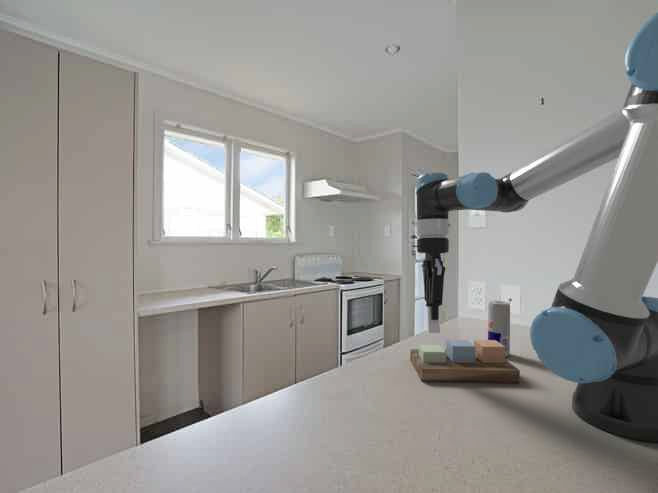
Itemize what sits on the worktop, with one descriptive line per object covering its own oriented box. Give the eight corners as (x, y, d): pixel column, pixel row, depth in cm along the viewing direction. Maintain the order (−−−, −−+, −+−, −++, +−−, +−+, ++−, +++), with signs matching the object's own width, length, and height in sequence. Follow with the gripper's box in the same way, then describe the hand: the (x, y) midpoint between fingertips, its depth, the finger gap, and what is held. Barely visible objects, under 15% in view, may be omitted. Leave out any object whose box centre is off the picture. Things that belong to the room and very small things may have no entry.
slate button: (475, 362, 83) (475, 346, 83) (452, 362, 84) (452, 346, 83) (467, 355, 89) (467, 339, 89) (446, 355, 89) (446, 339, 89)
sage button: (445, 368, 84) (445, 352, 84) (423, 368, 84) (423, 351, 84) (439, 360, 89) (439, 345, 89) (418, 360, 89) (418, 344, 89)
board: (519, 383, 79) (519, 370, 79) (421, 381, 80) (421, 368, 80) (493, 361, 93) (493, 350, 93) (410, 360, 94) (410, 349, 94)
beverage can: (504, 351, 101) (505, 300, 101) (513, 357, 95) (513, 303, 95) (484, 350, 101) (485, 299, 101) (491, 357, 96) (492, 303, 96)
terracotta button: (505, 363, 83) (505, 346, 83) (482, 363, 83) (482, 346, 83) (495, 355, 88) (495, 340, 88) (473, 355, 89) (474, 339, 88)
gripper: (456, 236, 79) (457, 339, 79) (440, 237, 92) (441, 325, 92) (423, 236, 79) (424, 339, 80) (412, 237, 92) (412, 325, 93)
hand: (433, 331), depth 86 cm, fingers closed
